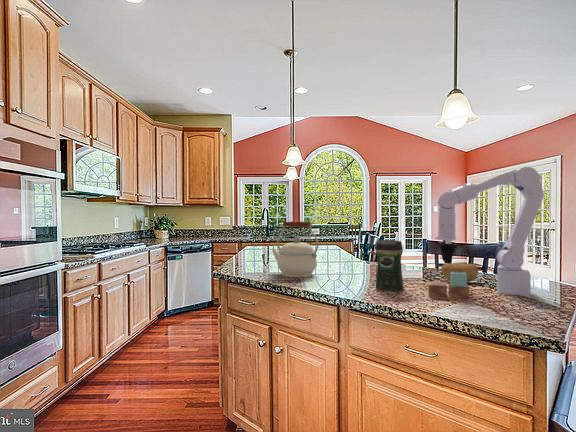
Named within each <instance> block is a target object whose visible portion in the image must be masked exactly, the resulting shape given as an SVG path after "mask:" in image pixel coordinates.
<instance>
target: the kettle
mask: <svg viewBox="0 0 576 432" xmlns="http://www.w3.org/2000/svg"><path fill="white" fill-rule="evenodd" d="M312 225H313V224H312V221H292V220H291V221H286V220H285V221H283V222H282V230H281V231H280V233H279V235H278V236H277V239H276V245H277V248H278V251H277V250H276V249H271V252H272V255H273V256H274V259H275V260H276V262H277V263H276V264H277V269H279V271H280V272H281V275H282V276H283V277H287V278H296V279H297V278H298V279H299V278H309V277H311V276H312V275H313V272H314V271H315V270H316V268H317V265H318V260H317V257H318V255H317V252H318V249H319V244H320V243H319V239H318V237H317V236H316V234H315V233H314V232H313V230H312V229H313V228H312ZM286 227H291V228H304V227H307V228H309V232H310V233H311V234H312V236H313V237H314V239H315V241H316V247H315V248H314V247H313V246H312V245H311V244H310V243H307V242H301V241H302V239H301V237H299V236H295V237H293V239H292V241H293V242H287V243H285V244H283V245H282V246H281V247H280V238H281V236H282V235H283V233H284V232H285V230H286Z"/></svg>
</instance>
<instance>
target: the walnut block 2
mask: <svg viewBox="0 0 576 432" xmlns="http://www.w3.org/2000/svg"><path fill="white" fill-rule="evenodd" d="M448 295H449V297H450V299H449V300H457V299H463V300H462V301H470V300H469V298H470V287H469V285H468V284H467V287H459V286H451V284H450V283H448Z"/></svg>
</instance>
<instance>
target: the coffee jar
mask: <svg viewBox="0 0 576 432" xmlns="http://www.w3.org/2000/svg"><path fill="white" fill-rule="evenodd" d="M403 253H404V249H403V244H402V241H401V240H395V239H394V240H393V239H382V240H377V241H376V244H375V254H376V259H377V260H376V261H377V262H376V266H377V267H376V275H375V288H376V290H382V291H390V292H391V291H392V292H401V291H402V290H404V281H403V273H402V255H403Z"/></svg>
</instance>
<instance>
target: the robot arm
mask: <svg viewBox="0 0 576 432" xmlns="http://www.w3.org/2000/svg"><path fill="white" fill-rule="evenodd" d="M541 179H542V177H541V174H539V172H538V171H537V170H536V169H535V168H533V167H531V166H524V167H521V168H519V169H514V170H509V171H506V172H503V173H500V174H497V175H495V176H493V177H491V178H488V179H485V180H484V181H481V182H479V183H476V184H474V183H471V182H469V183H466V182H465V183H462V184H461V186H459V187H457V188H454V189H452V188H451V189H449V190H448V191H446V192H444V193H442V194H440V195H439V197H438V199H437V205H438V206H439V207H438V213H437V216H438V217H437V218H438V219H437V220H438V222H437V223H438V225H437V226H438V230H437V231H438V233H437V234H438V236H435V237H434V239H435V240H440V241H437V244H438V246H439V249H440V253H441V257H442V261H443V262H444V264H447V263H448V264H451V263H453V262H452V261H453V256H454V252H455V250H456V248H457V246H458V245H457V244H455V242H454V240H455V241H456V240H457V237H456V211H455V210H456V209H455V207H456V205H461V204H464V203H466V202H468V201H471V200H473V199H476V198H477V197H478V196H479V193H482V192H484V191H486V190H490V189H493V188H495V187H497V186H501V185H504V186H512V187H514V188H515V189H517V190H518V191H519V192H520V193H521V195H522V196H523V197H524V199H523V201H522V203H521V206H520V208H519V211H518V213H517V216H516V218H515V220H514V221H515V222H514V224H513V226H512V229H511V231H510V233H509V236H508V238H507V240H506V242H504V244H503V247H501V249H500V250H499V251H498V252H497V253H496V260H497V263H499V264H498V266H497V282H496V283H497V287H496V288H497V292H498V293H499V294H503V295H508V296H509V295H510V296H521V297H529V298H531V297H532V296H531V295H532V294H531V293H532V292H531V287H532V286H531V285H532V284H531V273H530V271H529V270H528V269H523V268H522V266H523V264H524V253H525V244H526V243H527V242H526V241H527V238H528V237H529V234H530V231H531V229H532V226H533V224H534V221H535V220H536V216H537V214H538V212H539V209H540V207H541V205H542V203H543V200H544V198H545V197H544V196H545V194H544V193H545V192H544V190H543V186H542V182H541Z"/></svg>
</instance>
